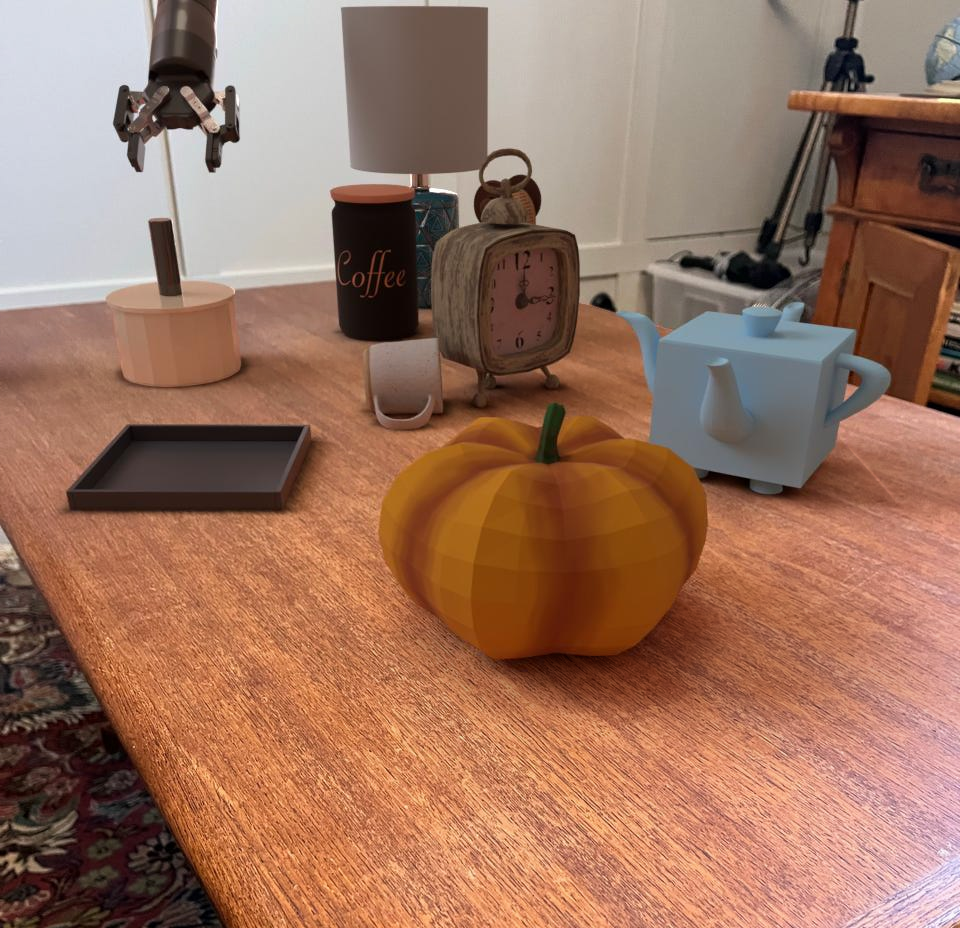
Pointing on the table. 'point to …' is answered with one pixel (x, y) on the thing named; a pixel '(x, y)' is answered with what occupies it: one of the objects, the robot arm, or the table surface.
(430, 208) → the lamp
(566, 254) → the tabletop clock
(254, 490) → the tray
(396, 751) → the table surface
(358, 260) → the coffee jar
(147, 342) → the canister
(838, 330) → the teakettle
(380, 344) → the ceramic mug
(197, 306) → the lid
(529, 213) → the dark rounded piece
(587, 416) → the decorative pumpkin
